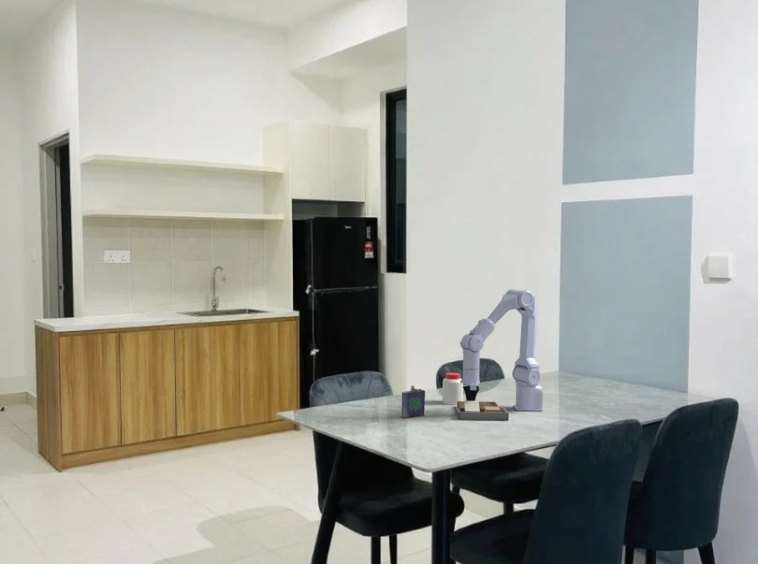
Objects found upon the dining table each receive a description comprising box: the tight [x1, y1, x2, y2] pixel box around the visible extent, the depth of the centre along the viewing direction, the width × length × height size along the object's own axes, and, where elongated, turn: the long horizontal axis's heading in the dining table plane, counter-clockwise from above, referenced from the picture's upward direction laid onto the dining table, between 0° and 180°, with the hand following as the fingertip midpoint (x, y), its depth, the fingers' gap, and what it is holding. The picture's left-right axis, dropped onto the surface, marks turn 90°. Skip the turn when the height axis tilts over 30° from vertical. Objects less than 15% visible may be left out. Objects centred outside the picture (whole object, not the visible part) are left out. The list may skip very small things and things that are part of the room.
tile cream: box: [463, 400, 480, 412], centre depth 251 cm, size 5×5×2 cm
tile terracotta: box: [484, 406, 501, 413], centre depth 252 cm, size 5×5×2 cm
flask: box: [400, 385, 426, 419], centre depth 251 cm, size 9×3×11 cm, turn 121°
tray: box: [455, 406, 510, 421], centre depth 251 cm, size 17×9×2 cm, turn 89°
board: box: [456, 400, 499, 412], centre depth 262 cm, size 14×12×2 cm
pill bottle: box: [442, 372, 464, 406], centre depth 274 cm, size 8×8×11 cm
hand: (470, 406), depth 255 cm, fingers closed
